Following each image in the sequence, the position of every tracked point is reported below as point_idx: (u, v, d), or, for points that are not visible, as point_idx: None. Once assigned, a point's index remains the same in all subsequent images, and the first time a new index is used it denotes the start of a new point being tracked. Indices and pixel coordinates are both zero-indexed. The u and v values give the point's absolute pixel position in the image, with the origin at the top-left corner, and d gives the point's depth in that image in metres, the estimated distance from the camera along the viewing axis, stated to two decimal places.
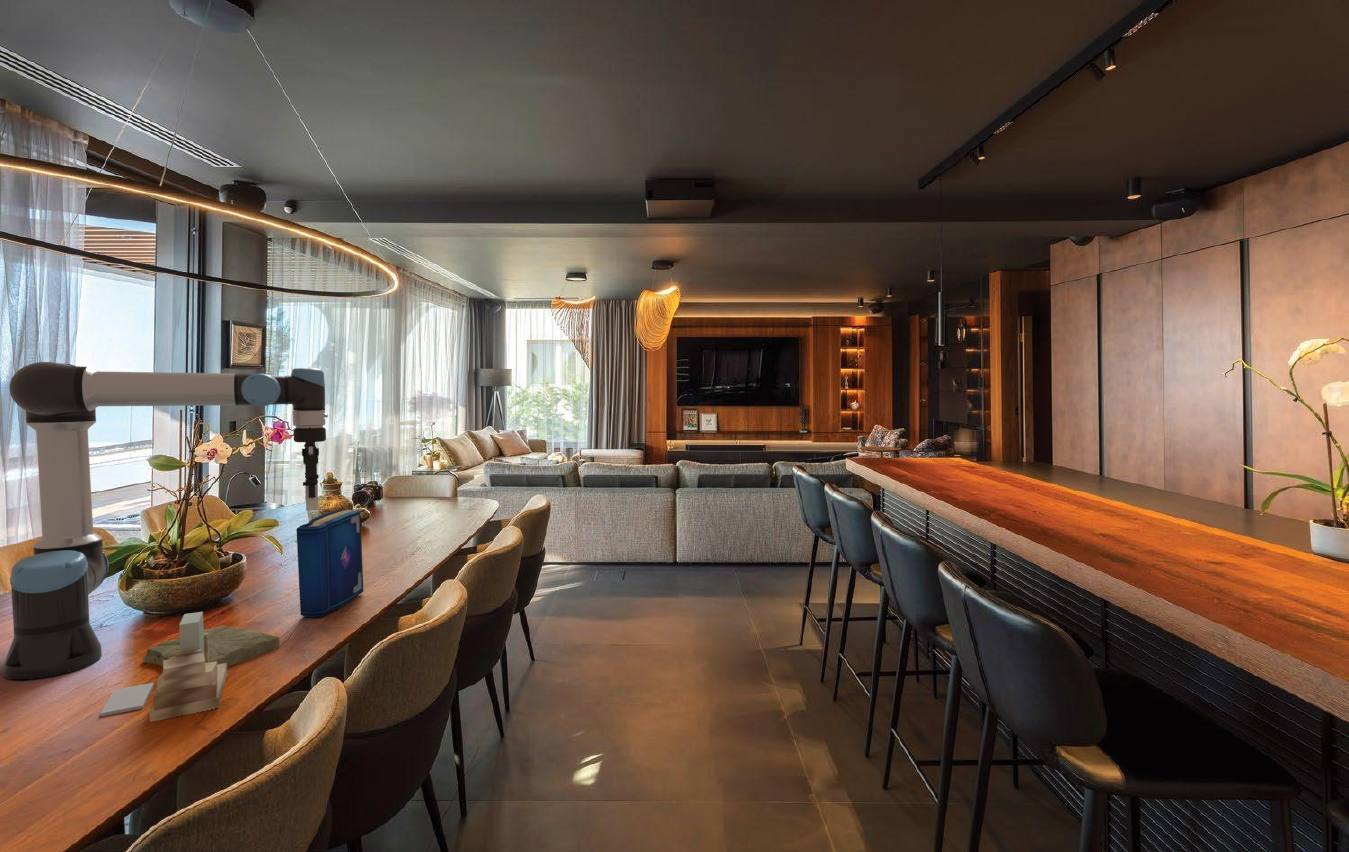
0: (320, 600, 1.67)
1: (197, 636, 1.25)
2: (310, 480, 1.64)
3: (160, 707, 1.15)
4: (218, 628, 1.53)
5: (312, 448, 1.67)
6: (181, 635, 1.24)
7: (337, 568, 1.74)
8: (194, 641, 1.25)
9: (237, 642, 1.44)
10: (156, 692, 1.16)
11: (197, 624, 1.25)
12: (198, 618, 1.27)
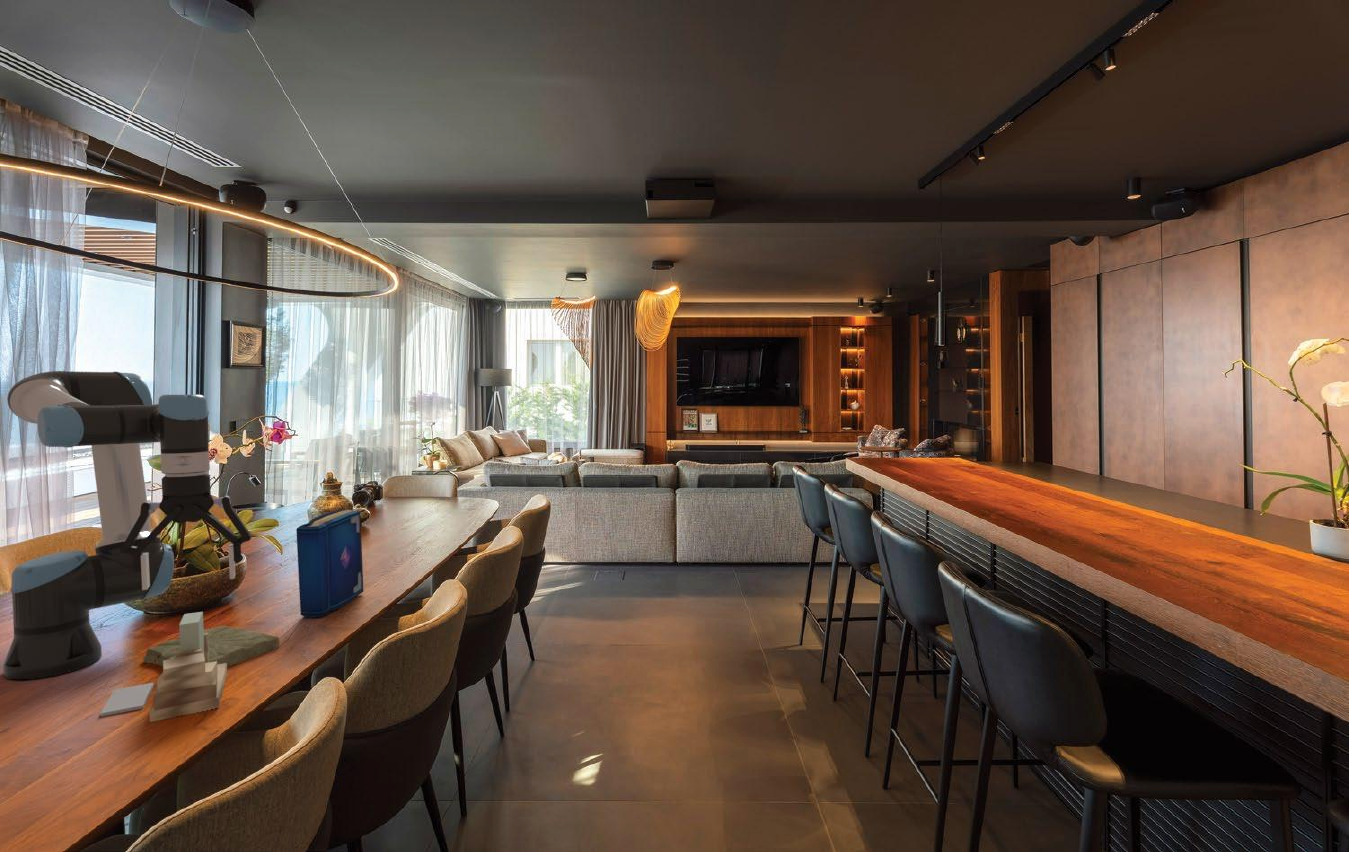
0: (320, 600, 1.67)
1: (197, 636, 1.25)
2: None
3: (160, 707, 1.15)
4: (218, 628, 1.53)
5: (142, 504, 1.22)
6: (181, 635, 1.24)
7: (337, 568, 1.74)
8: (194, 641, 1.25)
9: (237, 642, 1.44)
10: (156, 692, 1.16)
11: (197, 624, 1.25)
12: (198, 618, 1.27)
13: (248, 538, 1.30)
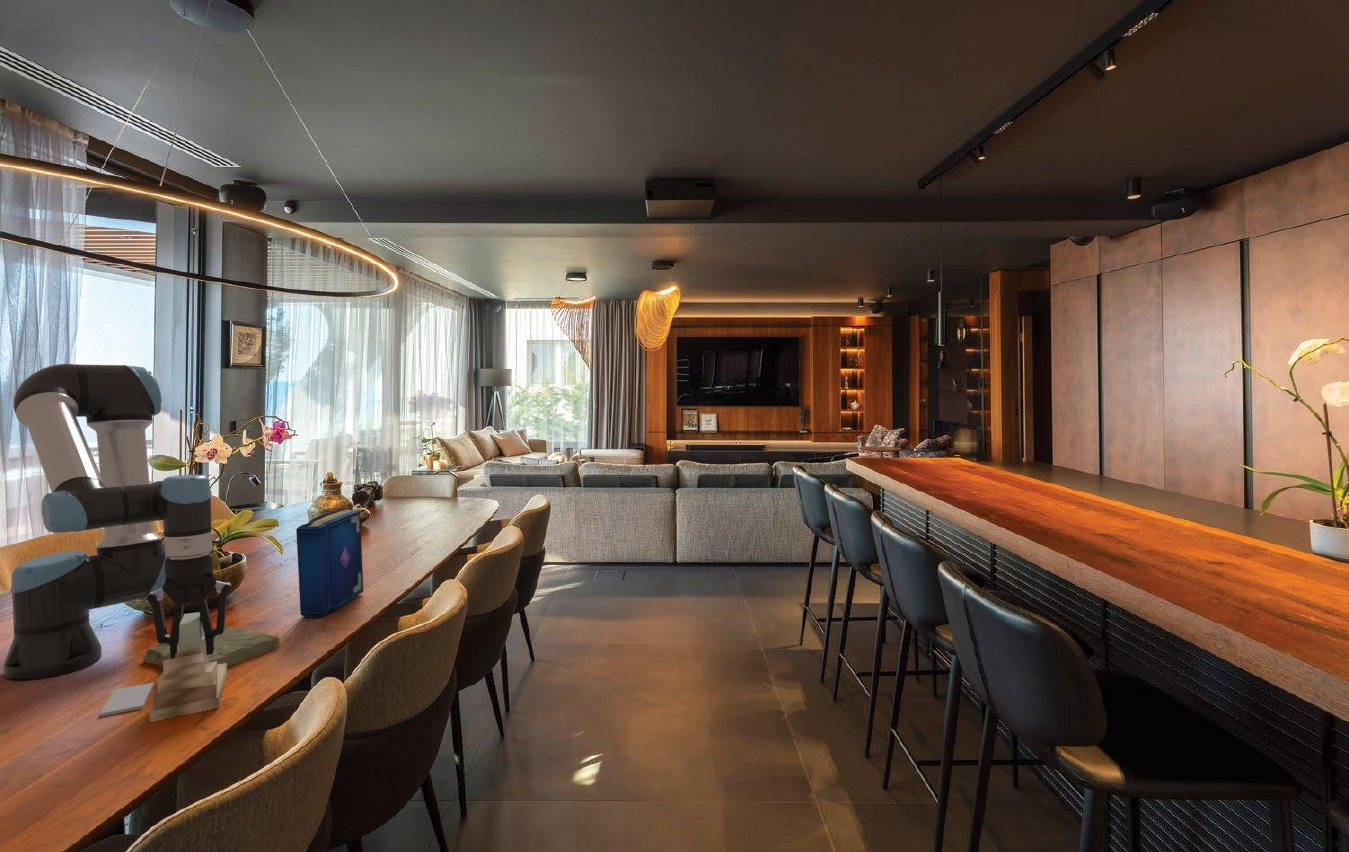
0: (320, 600, 1.67)
1: (197, 636, 1.25)
2: None
3: (160, 707, 1.15)
4: None
5: None
6: (181, 635, 1.24)
7: (337, 567, 1.74)
8: (194, 641, 1.25)
9: (237, 642, 1.44)
10: (156, 692, 1.16)
11: (197, 624, 1.25)
12: (198, 618, 1.27)
13: (220, 632, 1.29)
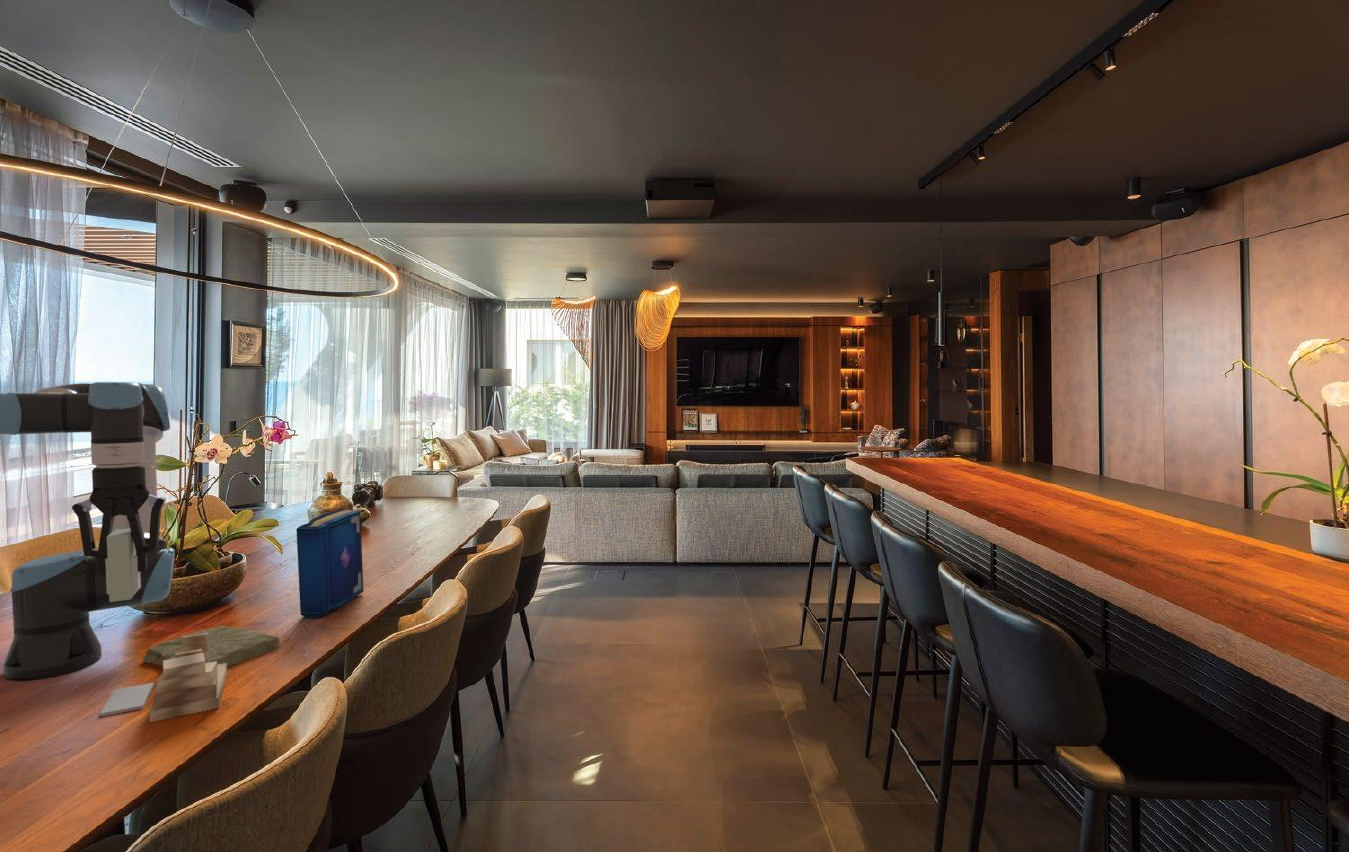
0: (320, 600, 1.67)
1: (126, 549, 1.19)
2: None
3: (160, 707, 1.15)
4: (218, 628, 1.53)
5: None
6: (109, 547, 1.18)
7: (337, 568, 1.74)
8: (123, 555, 1.19)
9: (237, 642, 1.44)
10: (156, 692, 1.16)
11: (126, 537, 1.19)
12: (128, 532, 1.21)
13: (153, 548, 1.23)
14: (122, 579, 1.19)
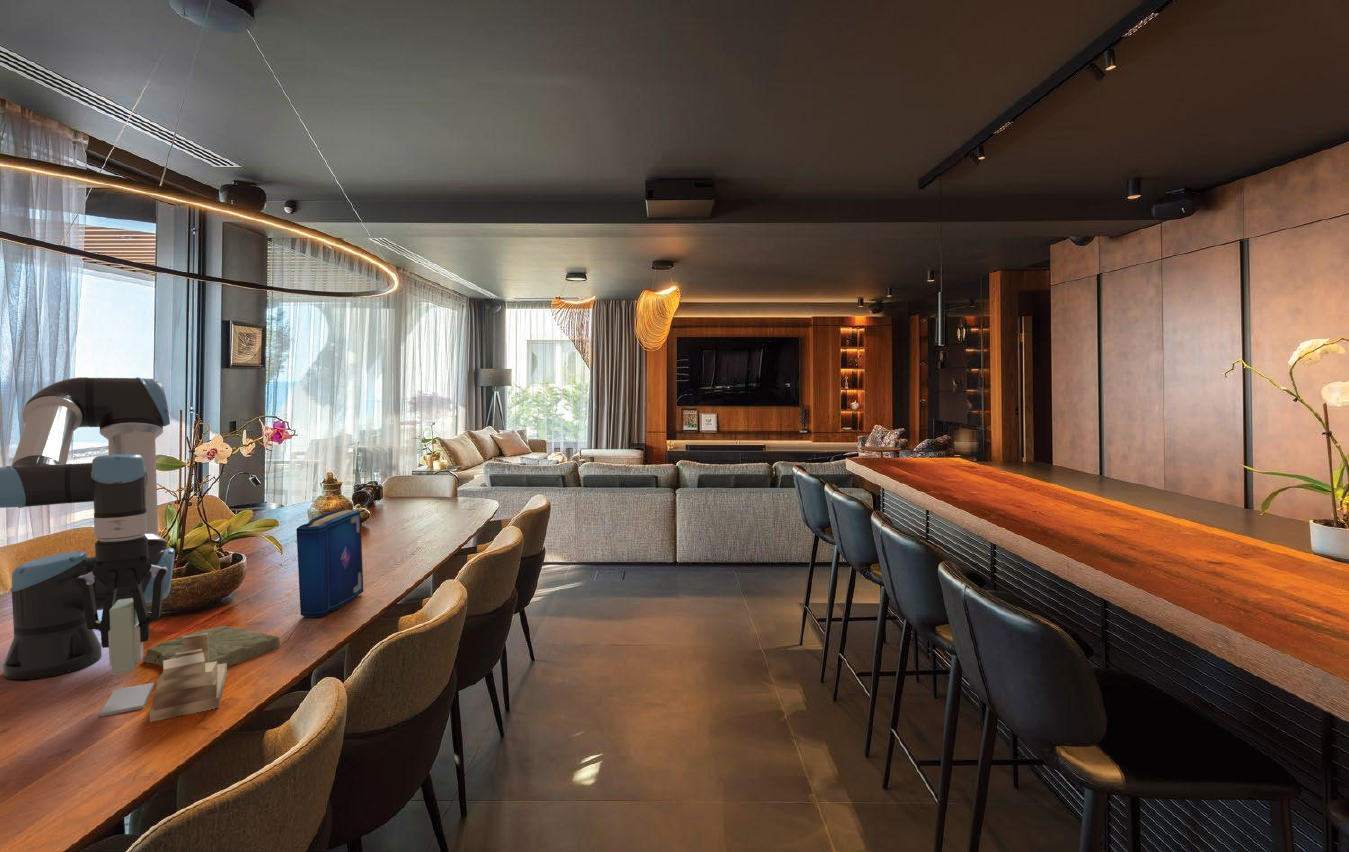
0: (320, 600, 1.67)
1: (129, 622, 1.20)
2: None
3: (160, 707, 1.15)
4: (218, 628, 1.53)
5: None
6: (112, 621, 1.18)
7: (337, 568, 1.74)
8: (126, 628, 1.19)
9: (237, 642, 1.44)
10: (156, 692, 1.16)
11: (129, 609, 1.20)
12: (131, 603, 1.22)
13: (156, 618, 1.23)
14: (124, 651, 1.19)
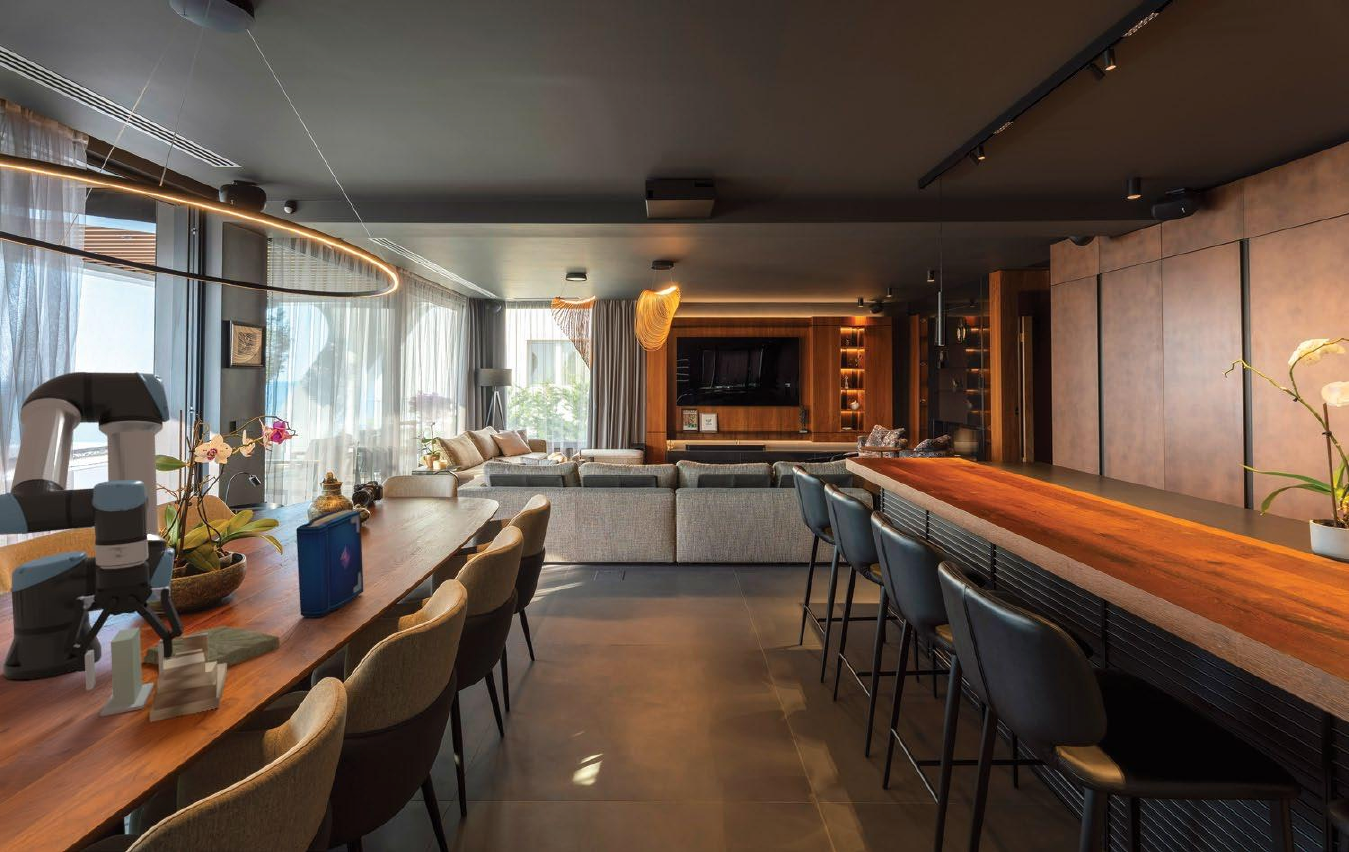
0: (320, 600, 1.67)
1: (130, 654, 1.20)
2: None
3: (160, 707, 1.15)
4: (218, 628, 1.53)
5: None
6: (113, 653, 1.19)
7: (337, 568, 1.74)
8: (127, 660, 1.20)
9: (237, 642, 1.44)
10: (156, 692, 1.16)
11: (130, 641, 1.20)
12: (132, 635, 1.22)
13: (179, 634, 1.25)
14: (126, 683, 1.20)
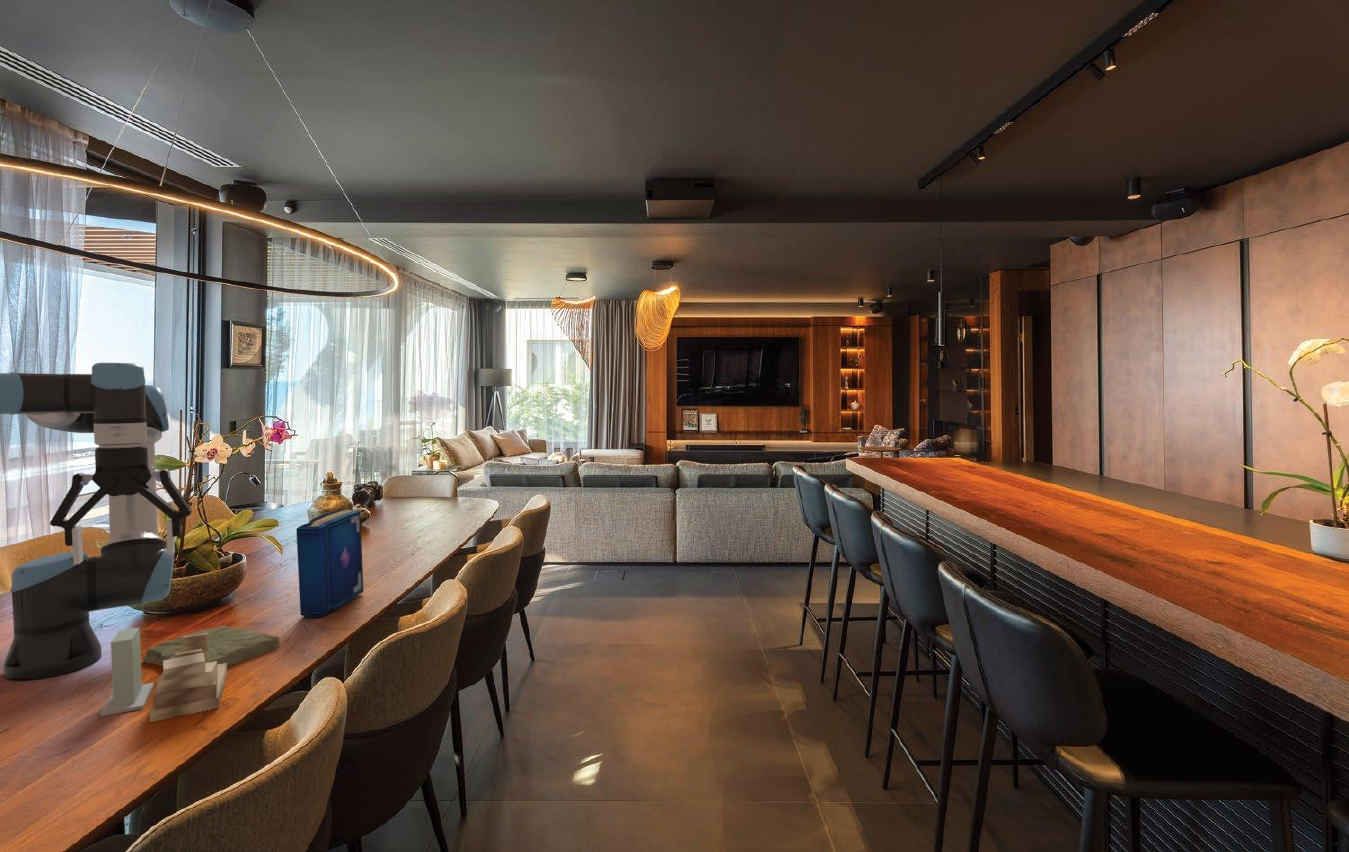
0: (320, 600, 1.67)
1: (130, 654, 1.20)
2: None
3: (160, 707, 1.15)
4: (218, 628, 1.53)
5: None
6: (113, 653, 1.19)
7: (337, 568, 1.74)
8: (127, 660, 1.20)
9: (237, 642, 1.44)
10: (156, 692, 1.16)
11: (130, 641, 1.20)
12: (132, 635, 1.22)
13: (187, 513, 1.26)
14: (126, 683, 1.20)
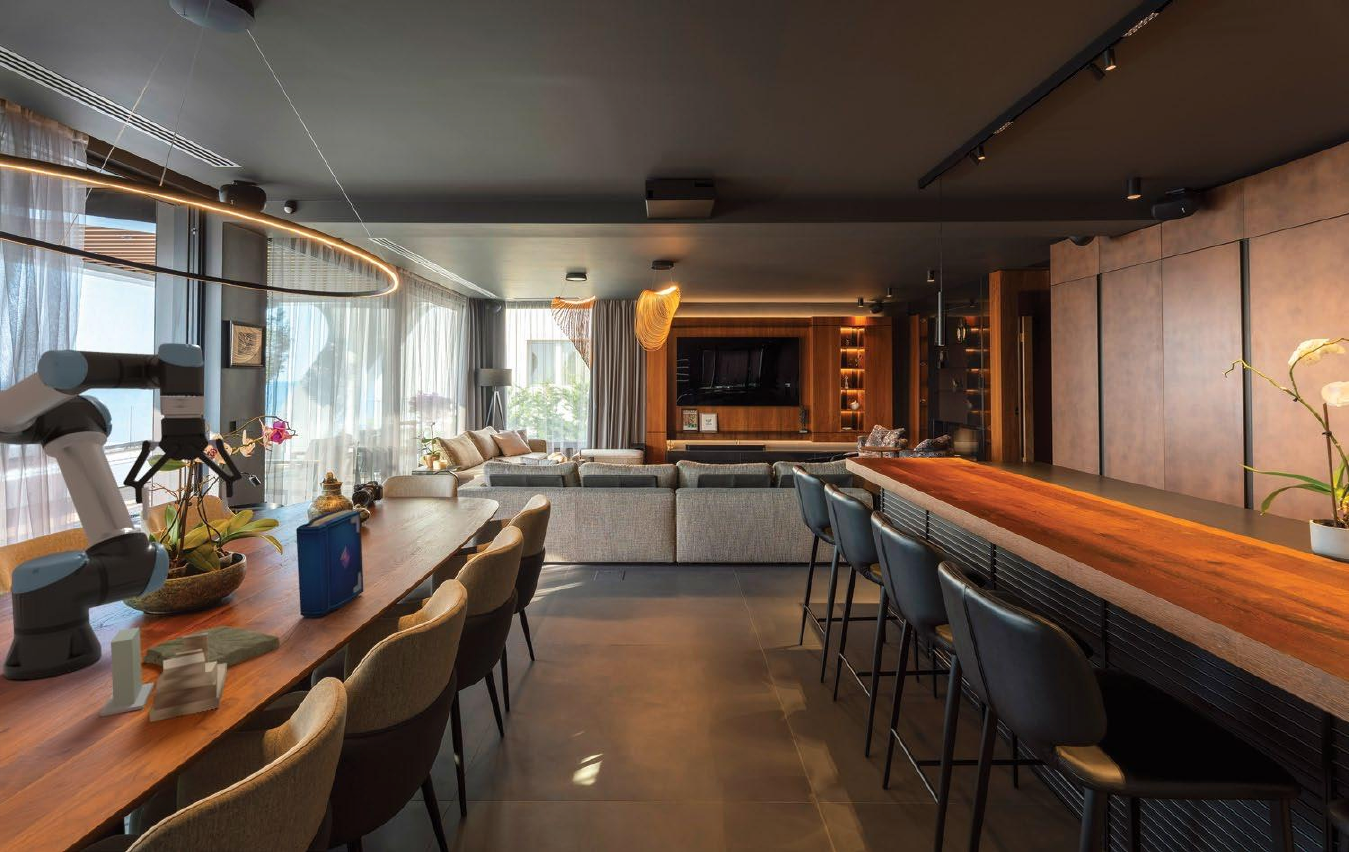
0: (320, 600, 1.67)
1: (130, 654, 1.20)
2: None
3: (160, 707, 1.15)
4: (218, 628, 1.53)
5: None
6: (113, 653, 1.19)
7: (337, 567, 1.74)
8: (127, 660, 1.20)
9: (237, 642, 1.44)
10: (156, 692, 1.16)
11: (130, 641, 1.20)
12: (132, 635, 1.22)
13: (239, 477, 1.43)
14: (126, 683, 1.20)
